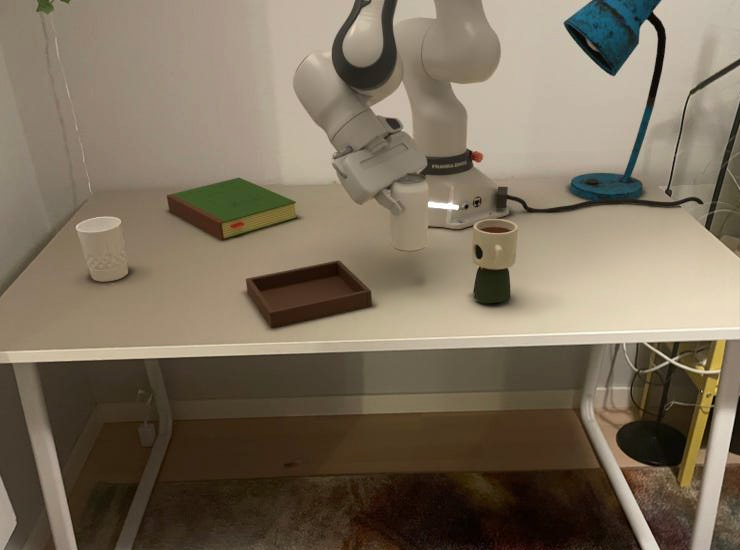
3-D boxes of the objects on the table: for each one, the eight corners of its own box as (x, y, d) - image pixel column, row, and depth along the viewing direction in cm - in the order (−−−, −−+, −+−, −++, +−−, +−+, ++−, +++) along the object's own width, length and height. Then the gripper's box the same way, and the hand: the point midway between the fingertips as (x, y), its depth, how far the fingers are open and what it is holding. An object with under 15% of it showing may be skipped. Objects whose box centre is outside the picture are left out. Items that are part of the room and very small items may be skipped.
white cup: (92, 287, 136) (79, 235, 131) (85, 271, 142) (72, 221, 137) (135, 277, 139) (125, 226, 134) (126, 263, 145) (116, 213, 140)
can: (425, 253, 127) (426, 184, 121) (387, 251, 128) (386, 182, 122) (429, 239, 133) (431, 172, 126) (394, 237, 134) (393, 171, 128)
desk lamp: (540, 183, 179) (558, -28, 156) (629, 177, 180) (660, -33, 157) (560, 205, 165) (583, -23, 142) (657, 199, 166) (695, -28, 143)
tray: (340, 274, 137) (339, 260, 136) (371, 306, 126) (371, 291, 124) (247, 293, 132) (245, 278, 130) (271, 328, 120) (269, 312, 119)
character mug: (467, 285, 131) (469, 214, 125) (507, 284, 131) (512, 213, 124) (473, 314, 122) (477, 239, 115) (517, 313, 122) (523, 238, 115)
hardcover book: (169, 211, 170) (166, 195, 168) (240, 192, 180) (238, 177, 178) (223, 241, 153) (221, 224, 151) (299, 219, 163) (297, 202, 161)
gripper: (337, 143, 117) (391, 214, 117) (403, 116, 131) (451, 179, 132) (316, 168, 121) (368, 236, 121) (382, 139, 136) (429, 199, 136)
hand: (412, 206), depth 127 cm, fingers closed on can, 6 cm apart
